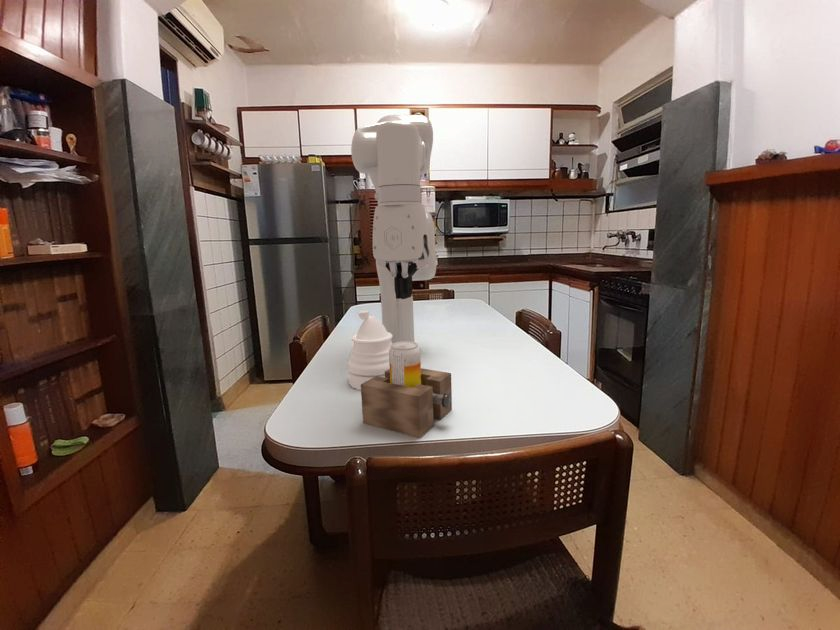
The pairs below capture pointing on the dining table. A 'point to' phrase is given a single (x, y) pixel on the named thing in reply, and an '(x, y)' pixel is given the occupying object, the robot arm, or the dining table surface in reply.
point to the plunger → (442, 399)
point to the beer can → (405, 364)
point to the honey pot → (369, 351)
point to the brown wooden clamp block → (405, 402)
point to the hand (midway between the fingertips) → (403, 297)
